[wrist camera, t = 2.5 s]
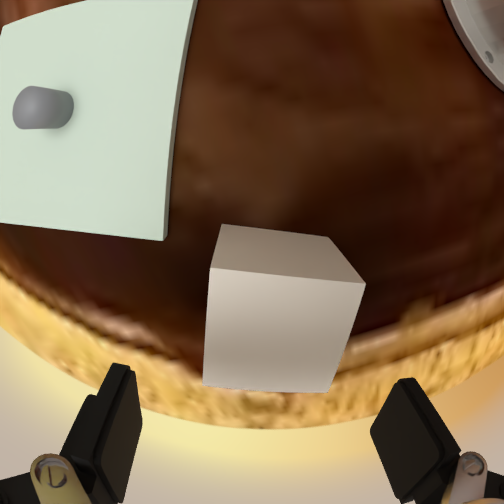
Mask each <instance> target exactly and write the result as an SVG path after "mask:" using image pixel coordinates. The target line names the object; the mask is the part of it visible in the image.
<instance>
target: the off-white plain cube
mask: <svg viewBox="0 0 504 504" xmlns="http://www.w3.org/2000/svg"><path fill="white" fill-rule="evenodd" d="M365 285H366V283H365V282H364V281H363V279H362V278H361V277H360V276H359V274H358V273H357V272H356V271H355V269H354V268H353V267H352V266H351V264H350V263H349V262H348V261H347V259H346V258H345V257H344V256H343V254H342V253H341V252H340V251H339V249H338V248H337V247H336V246H335V245H334V243H333V242H332V241H331V240H330V238H329V237H323V236H316V235H308V234H301V233H293V232H285V231H277V230H269V229H261V228H253V227H244V226H236V225H227V224H222V225H221V229H220V233H219V236H218V240H217V244H216V248H215V251H214V255H213V259H212V263H211V266H210V276H209V289H208V302H207V316H206V331H205V347H204V365H203V385H202V386H210V387H219V388H229V389H240V390H253V391H270V392H296V393H328V391H329V388H330V386H331V383H332V381H333V378H334V376H335V373H336V371H337V368H338V365H339V363H340V360H341V357H342V355H343V352H344V349H345V346H346V344H347V341H348V338H349V335H350V332H351V329H352V326H353V323H354V320H355V317H356V314H357V311H358V308H359V305H360V302H361V298H362V295H363V292H364V289H365Z"/></svg>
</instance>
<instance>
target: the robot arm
mask: <svg viewBox="0 0 504 504" xmlns="http://www.w3.org/2000/svg"><path fill="white" fill-rule="evenodd" d="M443 2H444V4H445V7H446V10H447V12H448V15H449V17H450V19H451V21H452V23H453V26H454V28H455V30H456V32H457V33H458V35H459V37H460V39H461V40H462V42H463V44H464V46H465V47H466V49H467V50H468V52H469V53H470V55H471V56H472V58H473V59H474V61H475V62H476V63H477V64H478V66H479V67H480V68H481V69H482V71H483V72H484V73H485V75H486V76H487V77H488V78H489V79H490V80H491V81H492V82H493V83H494V84H495V85H496V86H497V87H499V88H500V89H501V90H502V91H503V92H504V0H443ZM141 429H142V415H141V409H140V402H139V396H138V389H137V382H136V374H135V371H132V370H131V369H130V366H128V365H123V364H118V363H112V365H111V367H110V369H109V371H108V373H107V375H106V377H105V379H104V381H103V383H102V385H101V387H100V389H99V391H98V393H97V396H96V395H92V394H90V395H88V396H87V397H86V399H85V401H84V403H83V405H82V407H81V409H80V411H79V413H78V415H77V417H76V419H75V421H74V424H73V426H72V428H71V430H70V432H69V434H68V436H67V439H66V441H65V443H64V445H63V447H62V450H61V452H60V454H59V455H57V454H44V455H41V456H39V457H37V458H36V459H35V460H34V461H33V463H32V465H31V469H30V472H28V473H25V474H21V475H18V476H14V477H10V478H7V479H3V480H0V504H118V503H123V500H124V496H125V492H126V487H127V484H128V480H129V476H130V471H131V467H132V463H133V460H134V456H135V452H136V448H137V444H138V440H139V437H140V433H141ZM370 435H371V437H372V440H373V442H374V445H375V447H376V450H377V452H378V454H379V457H380V459H381V462H382V464H383V466H384V469H385V472H386V474H387V477H388V479H389V482H390V484H391V487H392V490H393V492H394V495H395V497H396V498H397V499H399V500H400V503H401V504H404V503H407V502H410V501H413V500H415V503H416V504H504V476H502V475H500V474H497V473H494V472H490V471H488V470H487V463H486V461H485V459H484V458H483V457H482V456H481V455H480V454H478V453H476V452H466V453H464V454H462V455H461V456H460V455H459V453H460V452H461V449H460V448H459V446H458V444H457V443H456V441H455V439H454V438H453V436H452V435H451V433H450V431H449V430H448V428H447V427H446V425H445V423H444V422H443V420H442V419H441V417H440V415H439V414H438V412H437V411H436V409H435V408H434V406H433V405H432V403H431V402H430V400H429V398H428V397H427V395H426V394H425V392H424V391H423V389H422V388H421V386H420V385H419V383H418V382H417V381H416V379H415V378H413V377H412V378H403V379H399V380H398V382H397V383H395V384H394V386H393V388H392V390H391V392H390V393H389V395H388V397H387V399H386V401H385V403H384V405H383V407H382V408H381V410H380V412H379V414H378V416H377V417H376V419H375V421H374V423H373V424H372V426H371V428H370Z"/></svg>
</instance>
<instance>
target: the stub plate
mask: <svg viewBox="0 0 504 504" xmlns="http://www.w3.org/2000/svg"><path fill="white" fill-rule="evenodd" d="M197 2H198V0H87V1H83V2H78V3H74V4H70V5H66V6H62V7H58V8H55V9H51V10H48V11H45V12H41V13H38V14H35V15H32V16H29V17H26V18H24V19H21V20H18V21H16V22H13V23H10V24H8V25H5V26H3V29H2V32H1V36H0V222H1V223H10V224H19V225H28V226H37V227H45V228H54V229H63V230H72V231H80V232H89V233H98V234H107V235H115V236H124V237H133V238H142V239H150V240H159V241H163V240H164V239H165V238H166V236H167V232H168V213H169V197H170V184H171V172H172V161H173V151H174V141H175V132H176V124H177V116H178V108H179V101H180V94H181V87H182V80H183V74H184V68H185V62H186V56H187V51H188V45H189V40H190V35H191V30H192V25H193V20H194V15H195V11H196V6H197Z"/></svg>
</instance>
